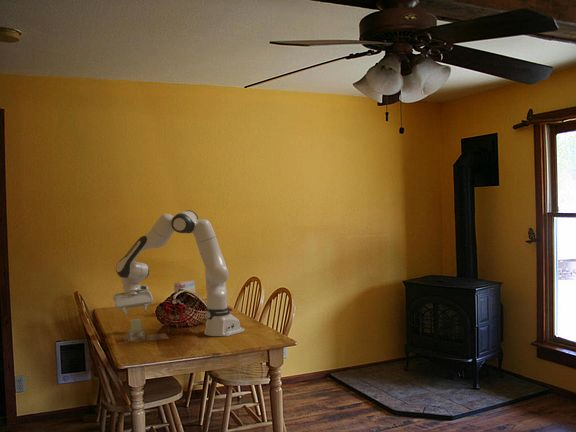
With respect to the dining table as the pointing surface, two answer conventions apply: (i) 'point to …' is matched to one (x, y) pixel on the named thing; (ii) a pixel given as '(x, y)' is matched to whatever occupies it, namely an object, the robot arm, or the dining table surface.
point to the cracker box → (185, 286)
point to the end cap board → (143, 336)
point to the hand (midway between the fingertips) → (136, 313)
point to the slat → (136, 325)
